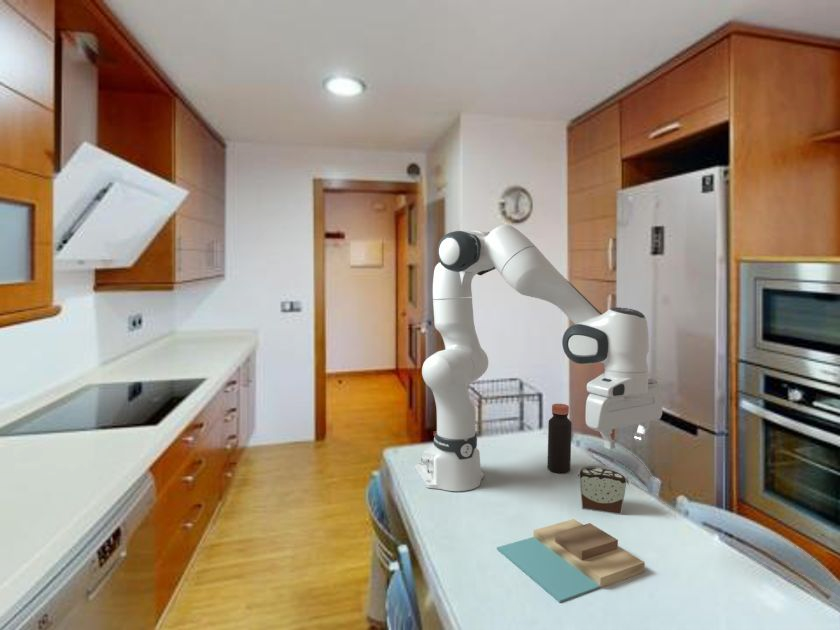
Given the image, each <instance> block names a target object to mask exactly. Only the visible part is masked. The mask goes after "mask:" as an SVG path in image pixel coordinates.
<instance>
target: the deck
mask: <svg viewBox="0 0 840 630" xmlns="http://www.w3.org/2000/svg"><path fill="white" fill-rule="evenodd" d="M581 525H584V524H583V523H581V521H578V520H577V519H574V518H573V519H568V520H565V521H562V522H559V523H555V524H551V525H547V526H544V527H541V528H536V529H533V530H532V531H533V536H532V537H534V538H535V539H537V540H538V541H540V542H541V543H542V544H544V545H545V546H546V547H548V548H549V549H550V550H552V551H553V552H555V553H556V554H557V555H559V556H560V557H561V558H563V559H564V560H566V561H567V562H568V563H570V564H571V565H572V566H574V567H575V568H576V569H578V570H579V571H581V572H582V573H583V574H585V575H586V576H587V577H589V578H590V579H592V580H593V581H594V582H596V583H597V584H598V585H600V588H599V589H601V588H605V587H606V586H609V585H612V584H615V583H617V582H620V581H623V580H625V579H628V578H631V577H633V576H637V575H641V573H644V572H645V567H646V566H645V564H646V563H645V561H643V560H641V559H640V558H638V557H637V556H635V555H634V554H632V553H630V552H629V551H627V550H625V549H623V548H622V547H620V546H619V545H618V549H616V550H613V551H610V552H607V553H604V554H601V555H597V556H594V557H591V558H588V559H585V560H580V559H579V558H577V557H576V556H574V555H573V554H572V553H570V552H569V551H567V550H566V549H564V548H563V547H562V546H560V545H559V544H557V543H556V542H555V533H557V532H560V531H564V530H567V529H571V528H574V527H578V526H581Z"/></svg>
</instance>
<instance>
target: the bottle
mask: <svg viewBox="0 0 840 630" xmlns="http://www.w3.org/2000/svg"><path fill="white" fill-rule="evenodd" d="M569 410H570V406H569V405H568V404H565V403H553V404H552V405H551V414H552V417H550V419H548V422H547V423H548V426H547V428H548V431H547V432H548V433H547V434H548V435H547V470H548V471H550V472H551V473H554V474H569V472H570V471H571V464H572V463H571V461H572V459H571V457H572V455H571V454H572V426H573V423H572V421H571V419H569V417H568V416H569V414H570V413H569V412H570V411H569Z"/></svg>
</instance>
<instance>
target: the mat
mask: <svg viewBox="0 0 840 630" xmlns="http://www.w3.org/2000/svg"><path fill="white" fill-rule="evenodd" d="M496 550H497V551H498V552H499V553H500V554H502V555H503V556H504V557H505V558H507V560H509V561H510V562H511V563H513V565H515V566H516V567H517V568H518V569H519V570H520V571H521V572H523V573H524V574H525V575H527V576H528V578H530V579H531V580H532V581H534V582H535V583H536V584H537V585H538V586H539V587H541V588H542V589H543V590H544V591H545V592H546V593H548V594H549V595H550V596H551V597H552V598H554V600H555V601H556V602H557V603H563V602H565V601H568V600H571V599H574V598H576V597H579V596H581V595H584V594H587V593H590V592H593V591H595V590H599V589H601V588H600V585H598V584H597V583H596V582H594V581H593V580H592V579H590V578H589V577H587V576H586V575H585V574H583V573H582V572H581V571H579V570H578V569H576V568H575V567H574V566H572V565H571V564H570V563H568V562H567V561H566V560H564V559H563V558H561V557H560V556H559V555H557V554H556V553H555V552H553V551H552V550H550V549H549V548H548V547H546V546H545V545H544V544H542V543H541V542H540V541H538V540H537V539H535V538H534V537H533V536H532V537H528V538H525V539H522V540H518V541H514V542H511V543H507V544H505V545H501V546H496Z"/></svg>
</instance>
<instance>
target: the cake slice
mask: <svg viewBox="0 0 840 630" xmlns="http://www.w3.org/2000/svg"><path fill="white" fill-rule="evenodd" d="M576 476H577V477H576V479H578V478H579V489H580V501H581V509H582V510H585V511H586V510H587V511H591V510H592V512H598V513H604V514H605V513H607V514H612V515H620V516H621V515H622V514H623V513H622V512H623V508H624V507H623V506H624V501H625V495H626V487H627V484H628V486H629V484H630V482H629V478H628V476H627V473H625V472H623V471H622V470H620V469H618V468H616V467H615V468H614V467H612V466H607V465H600V464H598V465H597V464H594V465H593V464H591V465H590V464H589V465H585V466H583V467H580V468H579V470H578V473H577V475H576Z"/></svg>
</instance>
